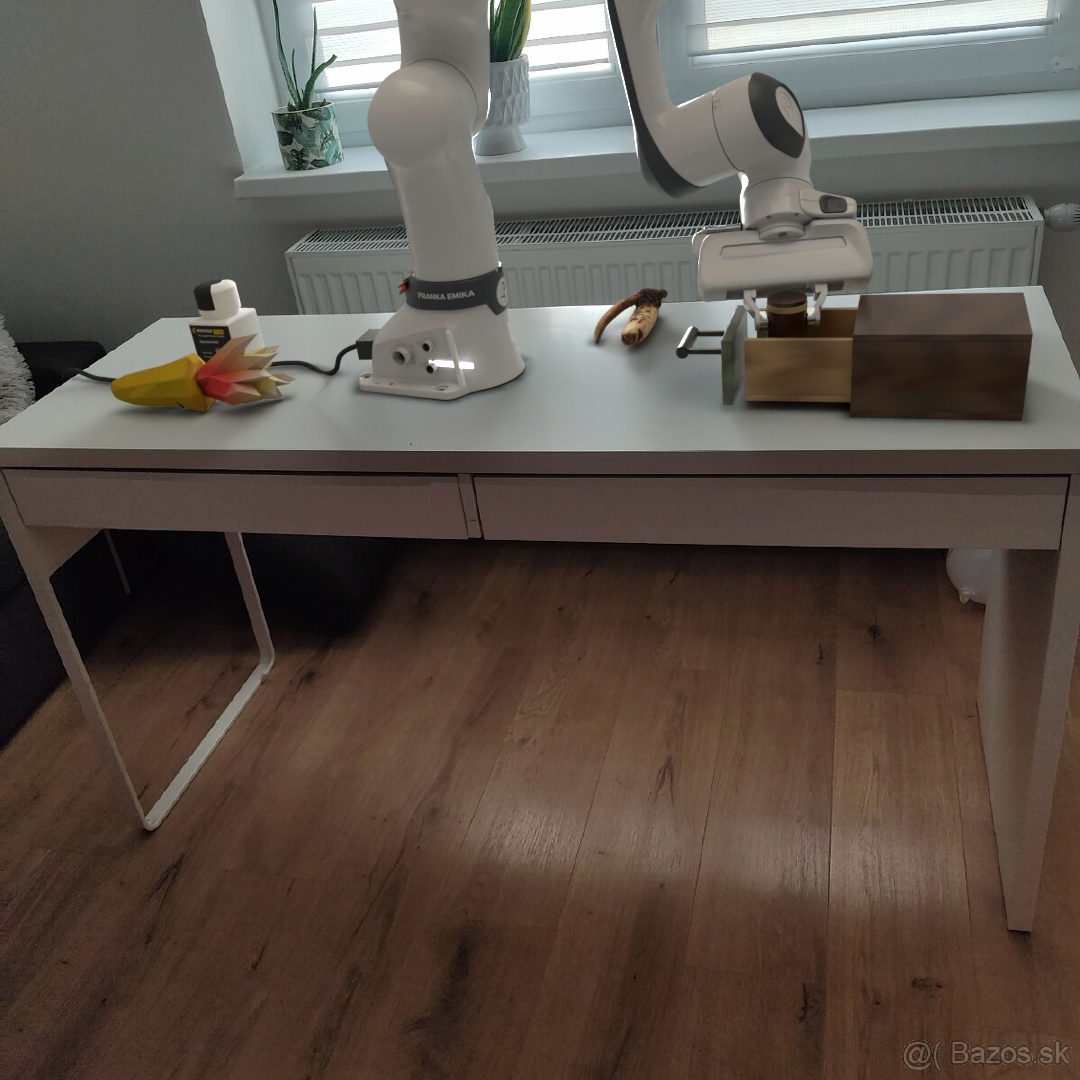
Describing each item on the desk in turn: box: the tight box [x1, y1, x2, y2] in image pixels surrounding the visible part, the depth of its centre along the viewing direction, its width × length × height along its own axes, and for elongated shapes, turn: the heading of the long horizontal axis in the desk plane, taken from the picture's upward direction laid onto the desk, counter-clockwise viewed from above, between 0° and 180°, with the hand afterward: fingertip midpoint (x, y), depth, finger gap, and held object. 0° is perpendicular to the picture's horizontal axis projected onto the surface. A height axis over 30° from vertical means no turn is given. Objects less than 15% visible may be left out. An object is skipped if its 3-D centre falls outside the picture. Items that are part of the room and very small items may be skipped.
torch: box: [110, 333, 298, 413], centre depth 142 cm, size 8×8×25 cm
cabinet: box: [849, 291, 1034, 421], centre depth 119 cm, size 18×14×10 cm
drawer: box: [675, 304, 858, 406], centre depth 124 cm, size 22×12×8 cm, turn 73°
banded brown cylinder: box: [765, 291, 809, 338], centre depth 124 cm, size 5×5×8 cm
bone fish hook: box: [593, 287, 669, 346], centre depth 150 cm, size 9×5×18 cm
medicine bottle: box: [188, 278, 266, 363], centre depth 156 cm, size 7×7×12 cm
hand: (787, 326), depth 123 cm, fingers closed on banded brown cylinder, 4 cm apart
